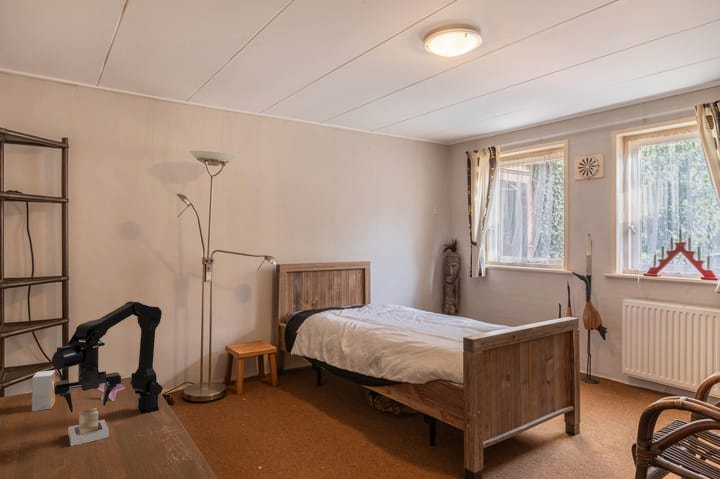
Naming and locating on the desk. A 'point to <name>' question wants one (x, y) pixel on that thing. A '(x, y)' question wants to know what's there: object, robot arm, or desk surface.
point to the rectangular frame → (88, 434)
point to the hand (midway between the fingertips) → (88, 408)
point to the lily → (113, 391)
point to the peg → (88, 421)
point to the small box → (43, 390)
